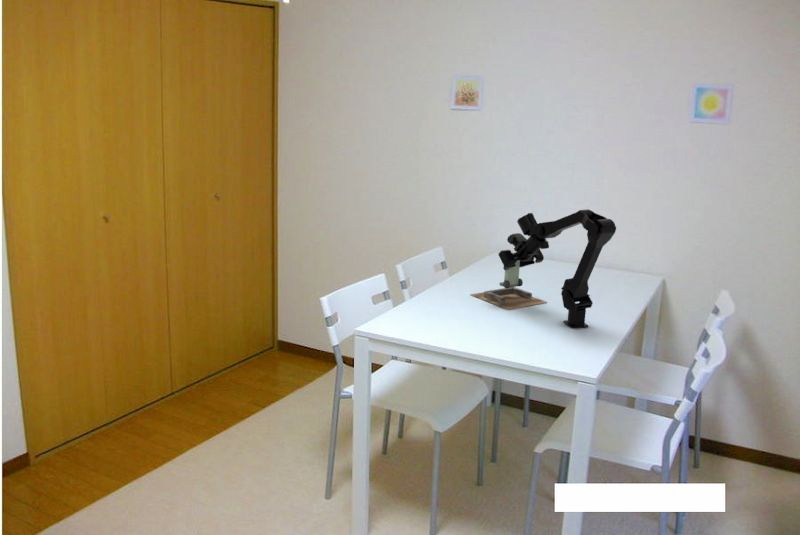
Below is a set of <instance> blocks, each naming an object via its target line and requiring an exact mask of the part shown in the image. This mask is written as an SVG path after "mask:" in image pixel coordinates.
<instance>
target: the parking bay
mask: <svg viewBox="0 0 800 535" xmlns="http://www.w3.org/2000/svg"><path fill="white" fill-rule="evenodd" d="M470 296H471V297H475V298H476V299H478V300H482V301H484V302H486V303H489V304H492V305H494V306H496V307H499V308H501V309H504V310H506V311H510V310H516V309H521V308H525V307H526V308H527V307H532V306H538V305H543V304H547V303H548V301H545V300H541V299H539V298H537V297H534V296H533V293H532V292H529V291H526V290H523V289H522V288H521V289H520V288H519V287H517V286H516V287H510V288H505V287H504V288H498V289H491V290H484V291H483V292H477V293H470Z"/></svg>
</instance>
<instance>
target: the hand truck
mask: <svg viewBox="0 0 800 535" xmlns="http://www.w3.org/2000/svg"><path fill="white" fill-rule="evenodd" d="M512 254H513V255H515V252H512ZM515 265H516V266H515V267H513V268H510V269H507V270H504V279H503V280H504V281H501V282H499V286H501V287H504V288H510V287H516V288H517V287H521V286H523V279H522V278H520V268H521V267H520V261H517V262H516V263H515ZM519 267H520V268H519Z"/></svg>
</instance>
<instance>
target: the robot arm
mask: <svg viewBox="0 0 800 535" xmlns="http://www.w3.org/2000/svg"><path fill="white" fill-rule="evenodd" d="M516 222H517V224H518V226H519V228H520V230H521V232H522V233H512V234H509V236H507V239H506V240H507V243H509V245H512V246H514V247H513V249H514V253H515V255H513V254H512V253H513V252H512V250H510V249H504V250H503V249H502V250H500V251H499V253H498V254H497V255H498V257H499V259H500V260H501V263H502V265H503V270H504V271H505V270H507V269H510V268H513V267H515V266H516V265H515V263H516V262H517V261H520V267H519V269H520V268H524V267H526V266H531V265H535V264H538V263H539V264H540V263H542V262H543V261H544V258H545V257H544V254H543V253H542V250H546V249H549V248H550V245H549V244H550V243H549V241H548V240H547V239H553V238H556V237H558V236H559V235H561V233H562V232H563V231H565V230H568V229H570V228H573V227H576V226H578V225H580V224H581V225H582V228H583V229H585V230H586V231H587V232H586V236H587V244H586V246H585V249H584V251H583V253H582V255H581V258H580V261H579V262H578V266H577V267H576V270H575V272H574V275H573V277H572V278H566V279H565V280H564V282H563V286H562V287H561V298H562V303H563V308H564V309H566V310H567V311H568V312H567V320H566V319H565V320H563V321H562V322H563V323H564V324H566V325H567V326H569V327H570V328H589V325H588V324H586V322H585V321H586V312H587V309H591V308H592V306H593V301H592V299H591V297H590V296H589V295H590V294H588V292H589V289H590V288H589V283H588V282H589V279H590V277H591V274H592V272H593V270H594V268H595V266H596V263H597V261H598V259H599V256H600V254H601V251H602V250H603V247H604V246H606V244H608V242H609V241H611V240H612V238H613V236H614V235H615V233H616V231H617V226H616V224H615V221H613V219H611V218H607V217H605V216H603V215H601V214H598V213H597V212H594V211H593V210H590V209H589V208H588V209H587V208H586V209H580V210H578V211H576V212H574V213H571V214H569V215H567V216H564V217H561V218H558V219H556V220H552V221H546V222H545V221H544V222H539V223H538V222H537V220H536V218H535V216H534V213H533V212H529V213H527V214H524V215H523V216H521V217H518V219H517V221H516ZM526 236H528V238H526Z"/></svg>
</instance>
